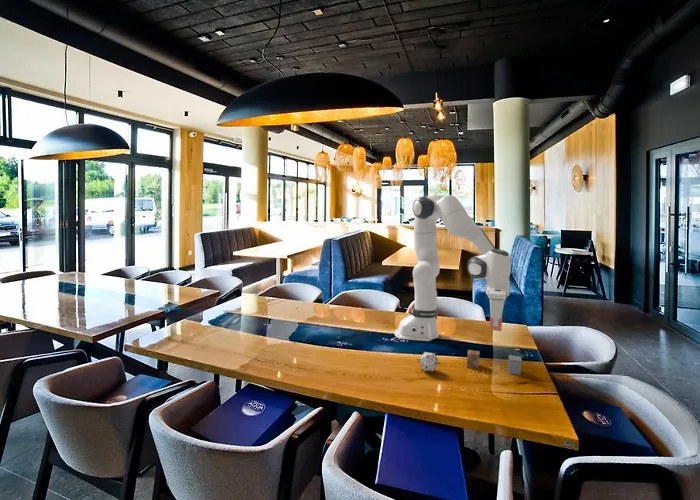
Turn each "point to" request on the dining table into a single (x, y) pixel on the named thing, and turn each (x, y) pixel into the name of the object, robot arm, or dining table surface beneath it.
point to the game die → (428, 361)
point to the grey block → (514, 365)
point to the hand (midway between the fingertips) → (495, 323)
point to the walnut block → (473, 359)
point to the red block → (496, 328)
